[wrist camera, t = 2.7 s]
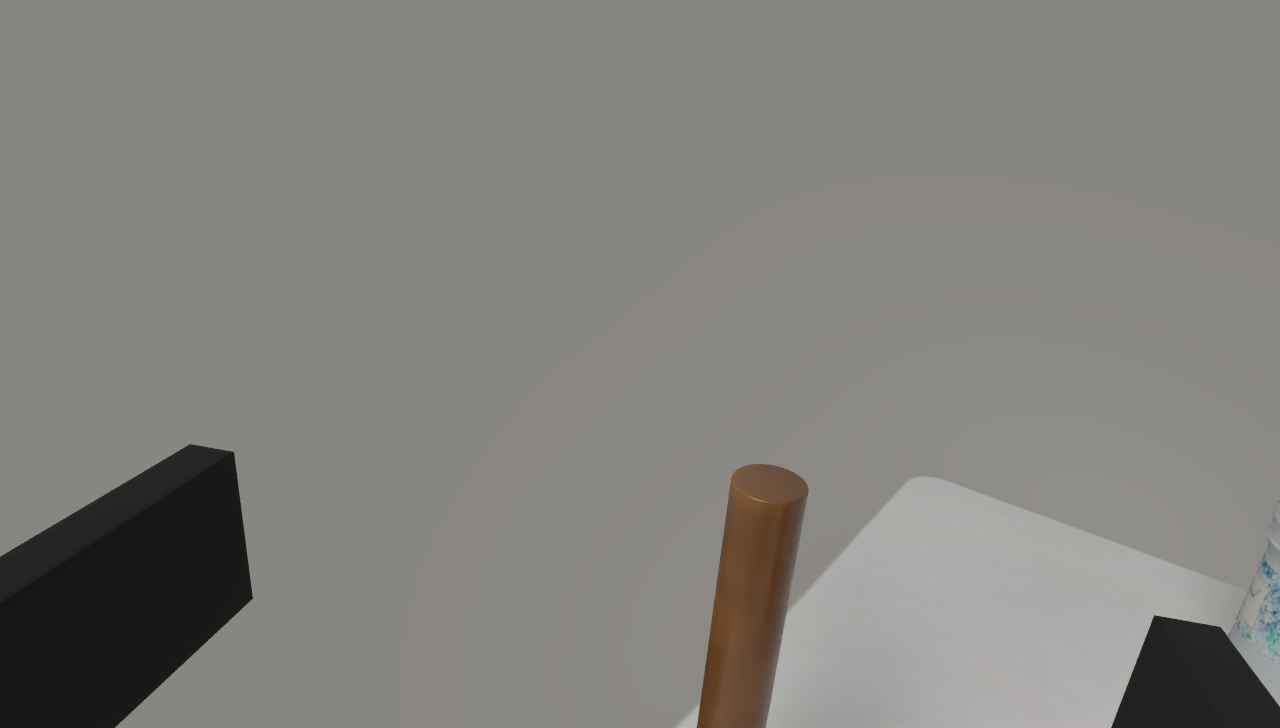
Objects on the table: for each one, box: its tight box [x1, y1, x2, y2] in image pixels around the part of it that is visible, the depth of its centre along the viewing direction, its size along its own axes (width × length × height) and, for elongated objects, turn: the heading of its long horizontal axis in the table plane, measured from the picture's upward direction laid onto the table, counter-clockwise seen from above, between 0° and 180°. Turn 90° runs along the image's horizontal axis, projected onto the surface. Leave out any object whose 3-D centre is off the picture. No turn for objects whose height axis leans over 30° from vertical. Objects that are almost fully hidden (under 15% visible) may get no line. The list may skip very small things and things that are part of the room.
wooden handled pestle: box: [697, 464, 808, 728], centre depth 30 cm, size 4×4×20 cm
